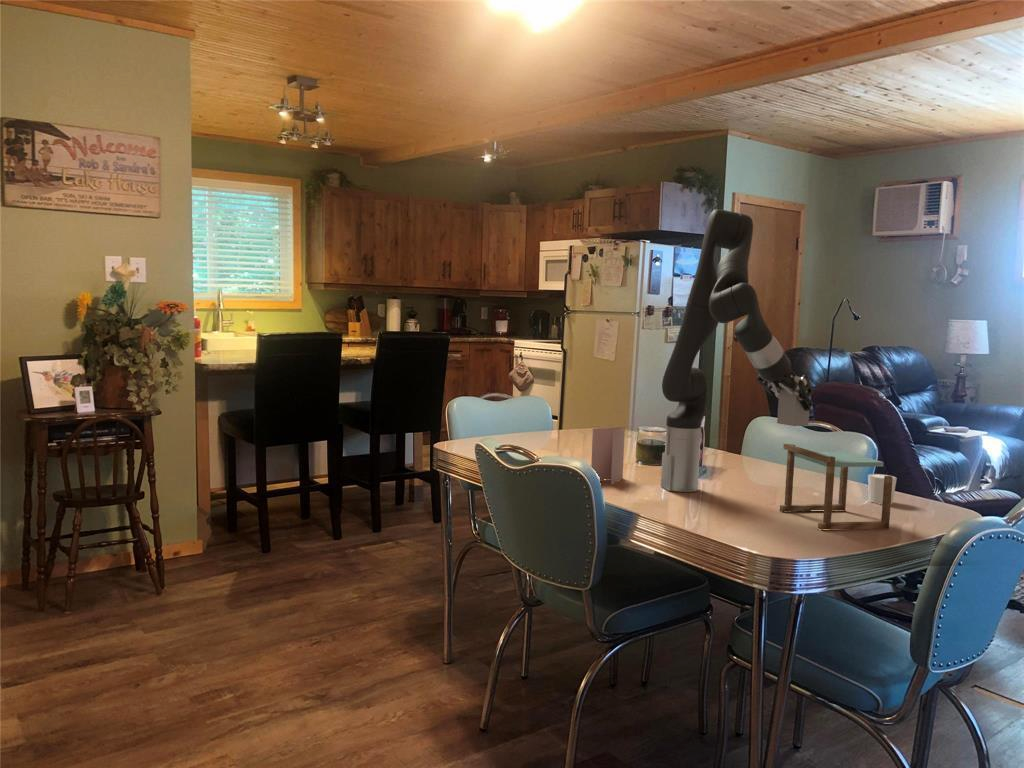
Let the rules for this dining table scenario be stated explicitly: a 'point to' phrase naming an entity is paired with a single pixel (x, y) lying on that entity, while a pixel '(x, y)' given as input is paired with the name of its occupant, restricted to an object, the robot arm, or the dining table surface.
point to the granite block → (791, 410)
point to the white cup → (878, 487)
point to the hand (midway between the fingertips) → (799, 406)
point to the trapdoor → (845, 460)
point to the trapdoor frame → (829, 493)
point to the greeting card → (608, 453)
